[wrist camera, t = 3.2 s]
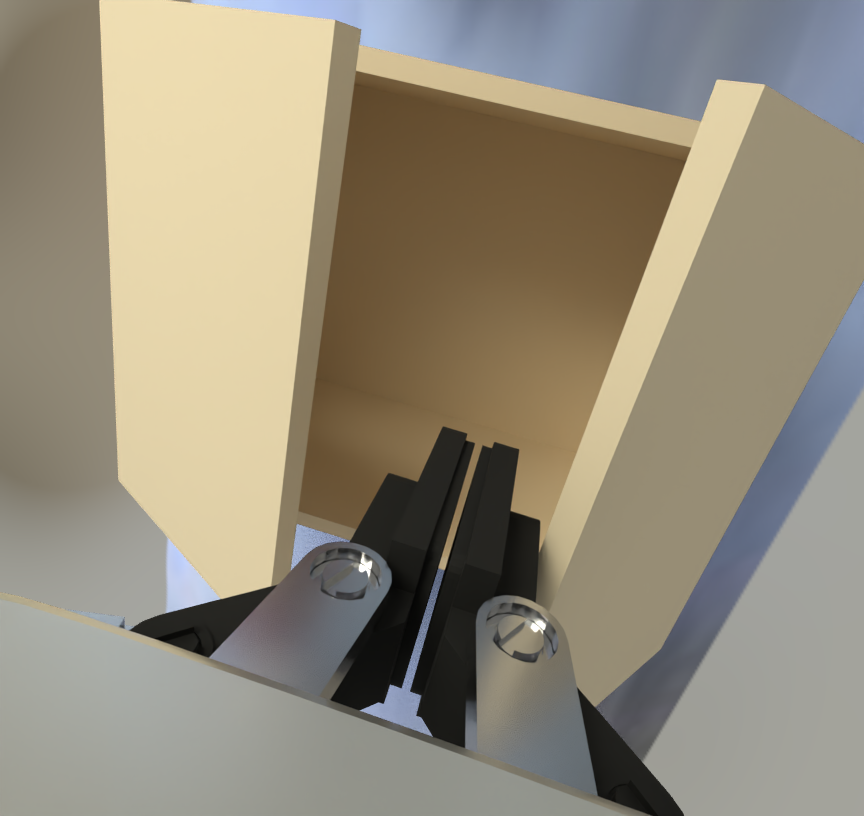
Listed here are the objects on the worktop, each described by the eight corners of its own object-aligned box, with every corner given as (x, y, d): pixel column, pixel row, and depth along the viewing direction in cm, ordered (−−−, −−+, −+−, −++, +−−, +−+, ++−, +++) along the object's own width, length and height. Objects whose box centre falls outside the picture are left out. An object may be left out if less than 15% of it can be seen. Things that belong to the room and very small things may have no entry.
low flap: (123, -1, 15) (99, -9, 15) (361, 29, 10) (335, 19, 10) (134, 475, 22) (118, 480, 22) (281, 638, 17) (264, 649, 17)
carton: (307, 58, 26) (132, -6, 16) (745, 158, 24) (886, 162, 14) (277, 371, 33) (141, 474, 23) (615, 469, 31) (642, 632, 21)
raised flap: (716, 80, 7) (765, 84, 7) (890, 172, 13) (919, 177, 13) (445, 801, 14) (461, 823, 14) (645, 636, 20) (660, 649, 20)
